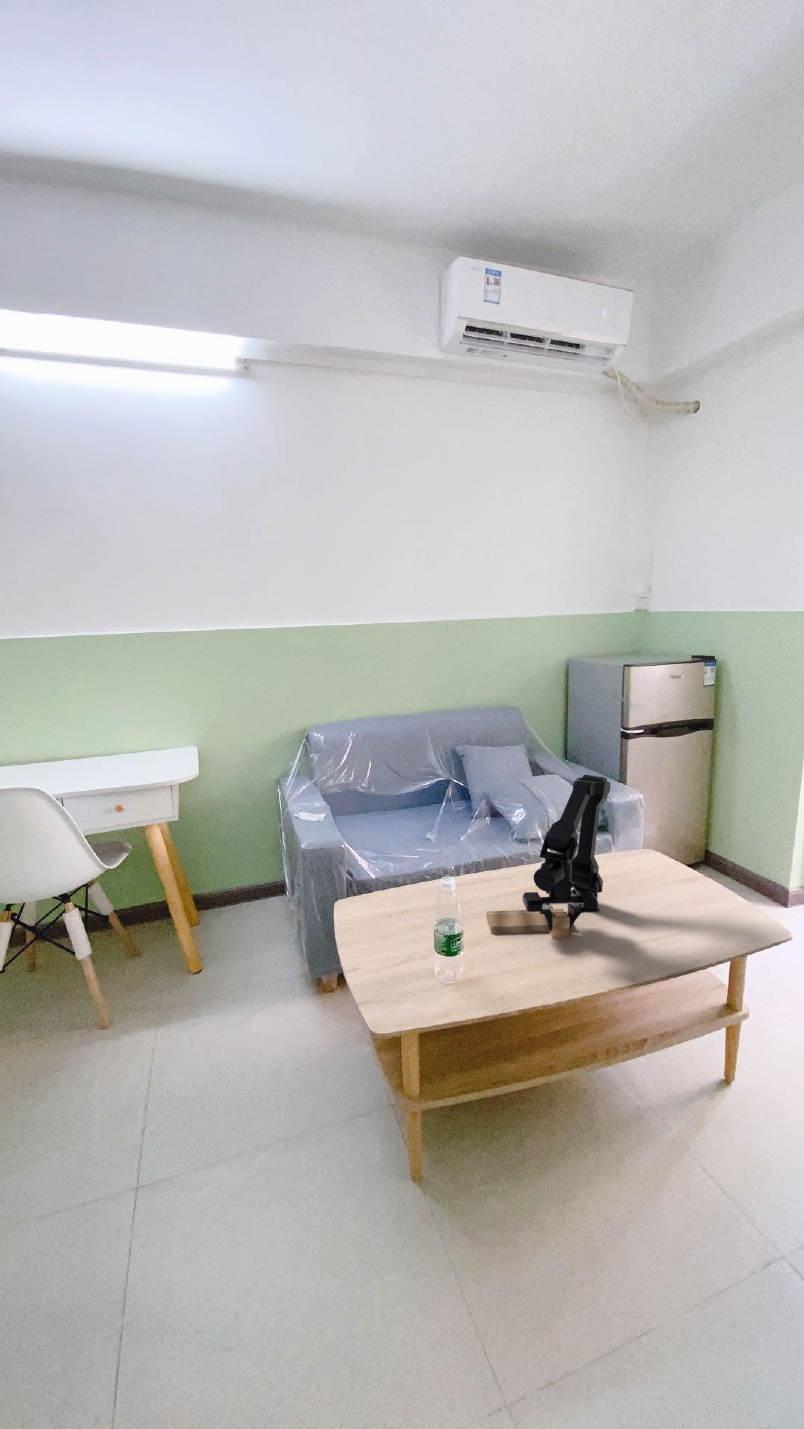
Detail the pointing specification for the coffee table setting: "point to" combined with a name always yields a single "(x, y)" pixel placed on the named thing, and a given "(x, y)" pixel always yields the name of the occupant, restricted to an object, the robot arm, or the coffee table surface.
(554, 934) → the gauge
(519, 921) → the board
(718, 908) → the coffee table surface
